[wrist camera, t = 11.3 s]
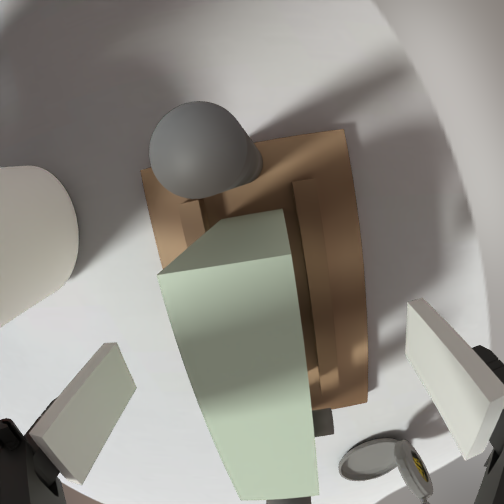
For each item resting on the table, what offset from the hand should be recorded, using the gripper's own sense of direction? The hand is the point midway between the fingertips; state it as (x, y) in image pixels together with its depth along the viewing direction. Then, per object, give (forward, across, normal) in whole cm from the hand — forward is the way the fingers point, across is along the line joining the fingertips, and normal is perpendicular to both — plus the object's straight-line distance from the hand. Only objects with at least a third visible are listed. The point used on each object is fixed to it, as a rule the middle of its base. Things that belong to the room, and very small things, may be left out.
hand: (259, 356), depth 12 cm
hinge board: (+7, 0, -1) cm, 7 cm away
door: (+6, 0, 0) cm, 6 cm away
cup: (+8, -16, +7) cm, 20 cm away
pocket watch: (+7, +8, -19) cm, 22 cm away
